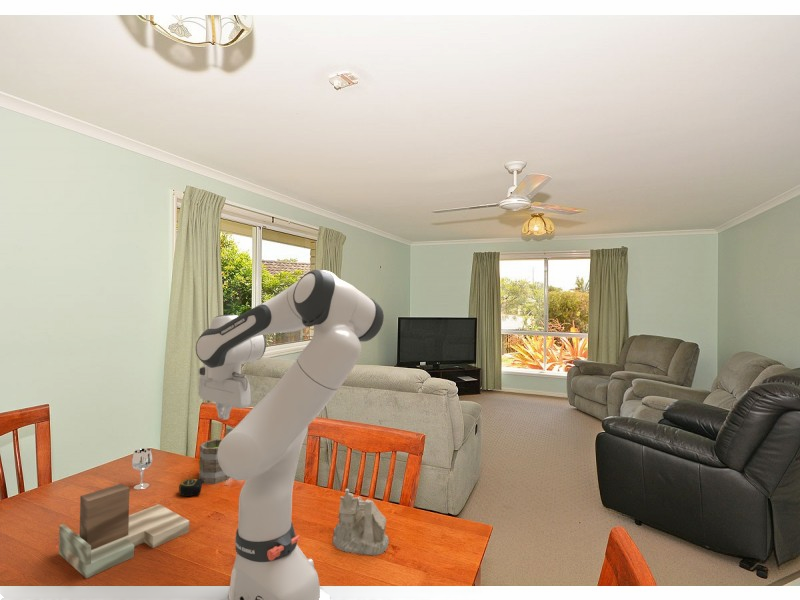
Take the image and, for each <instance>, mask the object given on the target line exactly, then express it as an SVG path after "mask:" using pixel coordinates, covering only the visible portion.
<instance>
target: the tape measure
mask: <svg viewBox="0 0 800 600" xmlns="http://www.w3.org/2000/svg"><path fill="white" fill-rule="evenodd" d="M203 483H204V481H202V479H201V478H200V479H199V478H188V479H185V480H183V481H182V482H181V483H180V484H179V487H178V493H179V495H181V496H183V497H190V496H194V495H199V494H200V493H201V492H202V487H203V485H204V484H203Z"/></svg>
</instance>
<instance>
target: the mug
mask: <svg viewBox="0 0 800 600" xmlns="http://www.w3.org/2000/svg"><path fill="white" fill-rule="evenodd" d="M222 439H223V438H215V439H212V440H206V441H204V442H202V443H201V444H200V445H199V446H198V447H199V460H198V465H199V466H198V467H199V473H198V479H200V478H201V479H202V481H204V483H203V484H202V485H205V484H206V485H207V484H208V485H216V484H221V483H224V482H227V481H228V480H229V479H231V478H230V477H229V476H227V475H226V474H225V473H224V472H223V471H222V469H221V467H220V465H219V462H218V457H217V452H218V447H219V444H220V442H221V441H222ZM226 480H227V481H226ZM223 481H224V482H223ZM220 482H221V483H220Z"/></svg>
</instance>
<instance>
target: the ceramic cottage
mask: <svg viewBox="0 0 800 600" xmlns="http://www.w3.org/2000/svg"><path fill="white" fill-rule="evenodd" d="M339 498H340V500H339V508H338V517H337V519H338V523H337V524H335V527H334V528H333V537H332V544H333V546H334V547H335V548H336V549H338V550H339V551H341V550H342V551H341V552H343V551H345V552H344V553H349V552H351V553H350V554H357V553H358V554H357V555H363V554H364V555H365V556H370V555H373V556H380V555H382V554H384V553H385V552H387V550H388V549H387V547H388V548H389V546H388V544H389V545H390V542H389V540H390V539H389V536H388V535H387V534H386V528H387V526H386V523H387V518H386V516H385V515H383V514H382V512H381V511H380V510H379V509H378V506H377V505H376V503H375V502H374V501H373V500H371V499H366V500H363V498H362V497H361V496H357V497H356V496H355V497H354V493H351V492H350V489H349V488H345V490H344V496H342V495H341V496H340V497H339ZM386 549H387V550H386ZM384 551H385V552H384ZM364 555H363V556H364Z"/></svg>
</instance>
